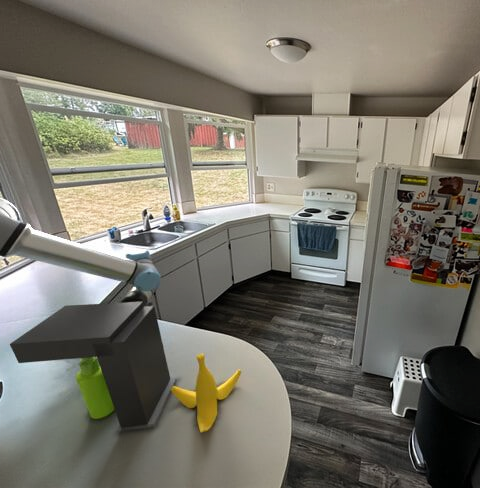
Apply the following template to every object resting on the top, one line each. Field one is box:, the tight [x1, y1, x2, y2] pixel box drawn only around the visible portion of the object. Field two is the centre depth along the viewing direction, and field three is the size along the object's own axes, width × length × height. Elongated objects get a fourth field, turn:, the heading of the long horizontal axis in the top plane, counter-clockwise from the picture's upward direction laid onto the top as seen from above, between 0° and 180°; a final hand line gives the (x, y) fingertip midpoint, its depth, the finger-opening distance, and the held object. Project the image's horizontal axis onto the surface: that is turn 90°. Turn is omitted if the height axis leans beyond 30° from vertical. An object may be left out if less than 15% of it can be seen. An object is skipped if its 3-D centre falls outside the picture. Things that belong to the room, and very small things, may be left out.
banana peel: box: [171, 353, 242, 433], centre depth 65 cm, size 17×19×17 cm
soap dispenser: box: [75, 357, 115, 420], centre depth 64 cm, size 6×7×20 cm
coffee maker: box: [9, 302, 177, 432], centre depth 64 cm, size 22×14×28 cm, turn 99°
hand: (108, 339), depth 73 cm, fingers open, 13 cm apart
